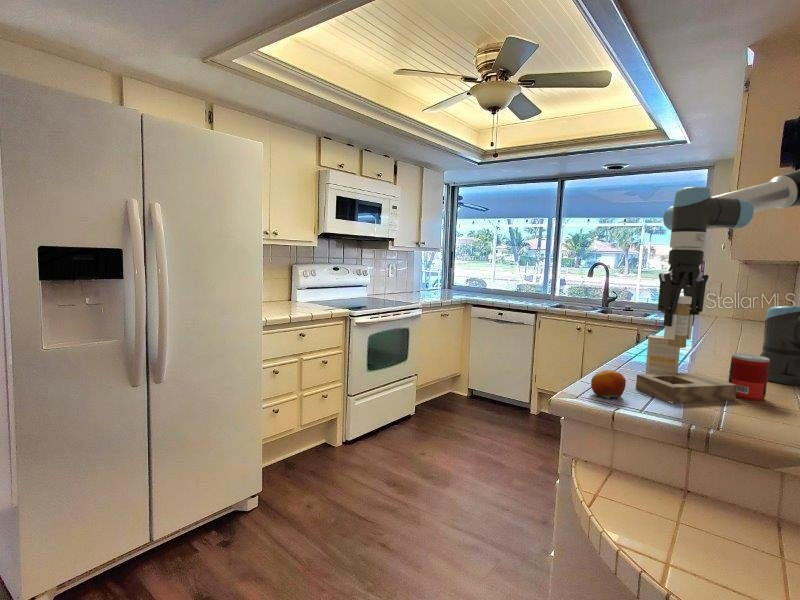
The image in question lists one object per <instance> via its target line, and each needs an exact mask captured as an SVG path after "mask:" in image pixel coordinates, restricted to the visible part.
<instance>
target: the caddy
mask: <svg viewBox="0 0 800 600" xmlns="http://www.w3.org/2000/svg"><path fill="white" fill-rule="evenodd" d="M635 381H636V382H635V390H638V391H640V392H644V393H646V394H648V395H650V394H651V396H653V395H654V396H653V397H655V396H656V397H655V398H658V397H659V398H658V399H660V398H662V399H661V400H663V399H664V400H663V401H665V400H667V401H666V402H668V401H670V402H681V403H682V402H683V403H698V402H697V401H703V402H718V400H722V401H735V400H736V388H737V385H736V384H732V383H729V381H726V380H723V379H718V378H716V377H712V376H709V375H707V374H702V373H699V372H678V373H666V374H645V373H644V374H643V373H642V374H641V373H640V374H637V373H636V380H635ZM670 402H669V403H670Z"/></svg>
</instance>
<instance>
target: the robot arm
mask: <svg viewBox="0 0 800 600" xmlns="http://www.w3.org/2000/svg"><path fill="white" fill-rule="evenodd" d="M798 206H800V169H797V170H794V171H791V172H788V173H785V174H782V175H778V176H774V177H772V178H771V179H770V180H769V181H768V182H765V183H761V184H757V185H752V186H749V187H745V188H741V189H737V190H733V191H730V192H725V193H722V194H718V195H714V196H712V195H711V189H710V188H709V187H706V186H690V187H682V188H679V189H678V190H677V191H676V192H675V196H674V200H673V205H671V206H670V207H668V208H667V209H666V210H665V211H664V213H663V217H662V219H663V225H664V226H665V227H666V229H668V230H669V231H671V232H670V240H669V248H671V249H670V250H669V252H668V259H667V262H668V264H669V265H670V266H669V268H668V270H667V271H665V272H660V273H659V274H658V278H659V290H658V291H659V292H658V304H657V310H658V311H659V312H661V313H662V314H664V316H663V317H664V318H663V326H664V331H663V336H664V338H667V339H671V340H675V331H676V322H677V315H675V314H674V313H675V310H676V306H677V303H678V299H679V296H680V295H681V292H683V296H690V297H692V302H691V304H690V313H689V325H688V334H687V339H686V340H689V341H690V340H691V339H692V332H693V327H694V324H695V316H699V315H700V313H702V312H703V310H704V309H703V308H704V301H705V292H706V287H707V285H706V284H707V282H708V280H709V275H708V274H704V273H702V272H701V270H700V266H701V265H703V262H704V254H705V253H704V250H702V249H704V248H705V241H706V235H707V234H706V233H707V230H709V229H711V230H712V229H713V230H714V229H729V230H734V229H742V228H744V227H746V226H748V224H749V223H751V222H752V219H753V217H754V214H755V213H757V212H762V211H766V210H768V209H773V208H775V209H787V208H790V207H798ZM749 225H750V224H749ZM682 290H683V291H682ZM764 320H765V322H764V330H763V331H764V332H763V339H762V340H763V342H762V349H761V353H760V354H759V356H763V357H767V358H769V359H770V364H769V372H768V380H767V382H768V381H769V382H774V383H778V384H783V385H784V384H785V385H791V386H800V306H796V305H795V306H794V305H793V306H788V305H785V306H784V305H781V306H772V307H770V308H768V309H767V313H766V317H765V319H764Z"/></svg>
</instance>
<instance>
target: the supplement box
mask: <svg viewBox="0 0 800 600" xmlns="http://www.w3.org/2000/svg"><path fill="white" fill-rule="evenodd" d="M667 340H668V339H667V338H664V335H657V334H649V336H648V337H647V348H646V349H647V351H646V360H645V361H646V362H645V373H644V374H666V373H679V361H680V351H681V348H676V347H670V346H667Z"/></svg>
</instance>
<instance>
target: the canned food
mask: <svg viewBox="0 0 800 600" xmlns="http://www.w3.org/2000/svg"><path fill="white" fill-rule="evenodd" d="M769 364H770V359H769V358H767V357H763V356H760V355H758V354H752V353H750V354H749V353H741V352H740V353H739V352H738V353H737V352H735V353H732V354H731V358H730V366H729V367H730V368H729V376H728V382H729V383H732V384H736V385H737V388H736V397H737V399H740V398H741V400H745V401H746V400H747V401H752V402H753V401H755V402H761V401H764V400H765V398H766V396H767V395H766V393H767V386H768V372H769ZM736 397H735V398H736Z"/></svg>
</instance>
